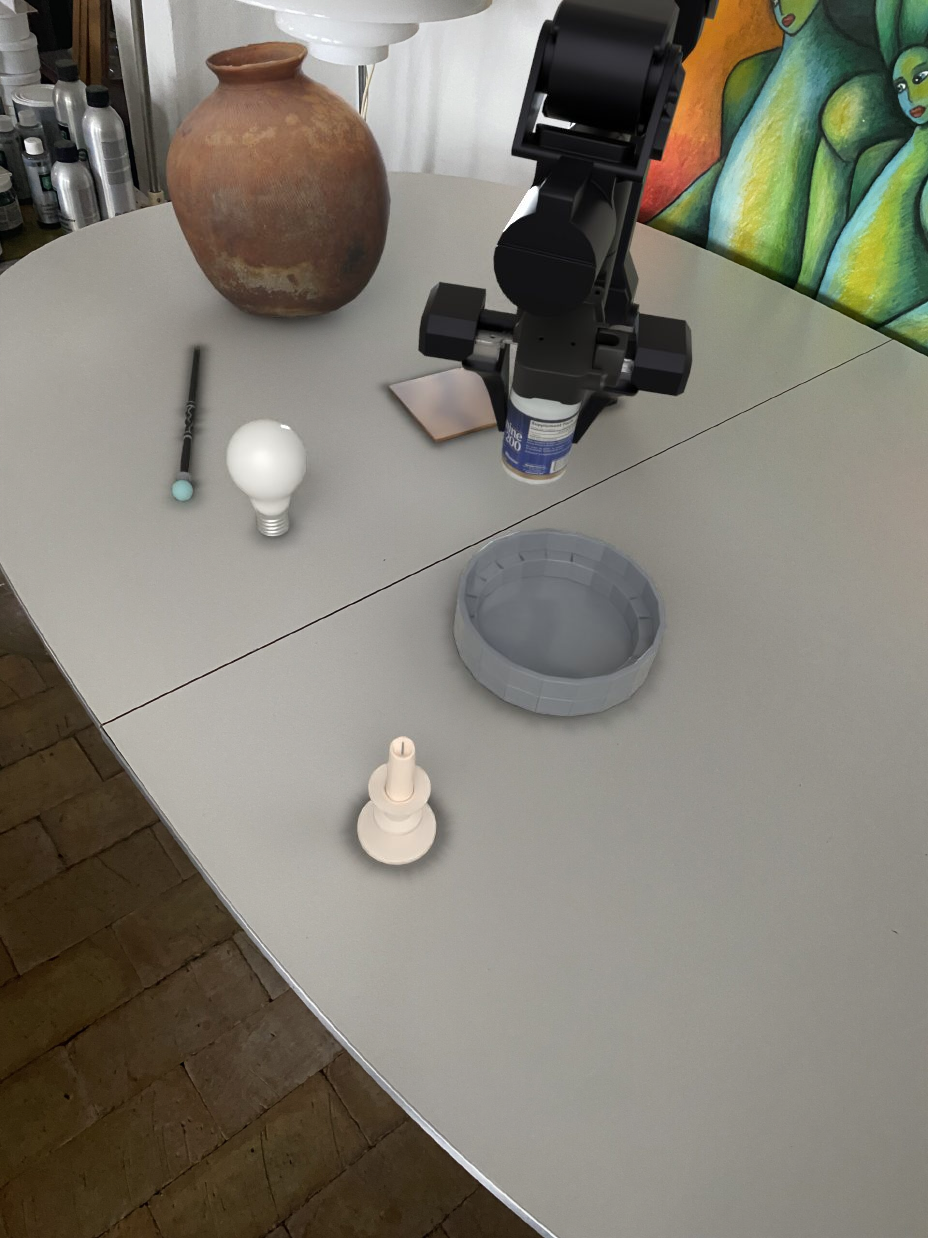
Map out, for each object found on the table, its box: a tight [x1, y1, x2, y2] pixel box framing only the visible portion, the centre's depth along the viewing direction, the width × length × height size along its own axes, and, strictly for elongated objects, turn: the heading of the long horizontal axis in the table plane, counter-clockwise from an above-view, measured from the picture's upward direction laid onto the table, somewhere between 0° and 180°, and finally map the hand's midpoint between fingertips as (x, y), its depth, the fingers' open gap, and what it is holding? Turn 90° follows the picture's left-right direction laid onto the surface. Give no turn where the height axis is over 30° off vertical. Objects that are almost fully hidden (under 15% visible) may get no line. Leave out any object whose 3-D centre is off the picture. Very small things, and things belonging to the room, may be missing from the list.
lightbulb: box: [225, 417, 308, 537], centre depth 71 cm, size 6×6×11 cm
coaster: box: [388, 366, 497, 444], centre depth 90 cm, size 10×10×1 cm
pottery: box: [165, 40, 392, 319], centre depth 92 cm, size 23×23×25 cm
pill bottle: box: [500, 385, 581, 486], centre depth 66 cm, size 5×5×10 cm
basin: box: [452, 528, 667, 718], centre depth 69 cm, size 16×16×4 cm
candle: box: [356, 736, 437, 866], centre depth 54 cm, size 5×5×10 cm
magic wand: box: [171, 345, 200, 502], centre depth 84 cm, size 2×25×2 cm
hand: (537, 434), depth 68 cm, fingers closed on pill bottle, 5 cm apart
